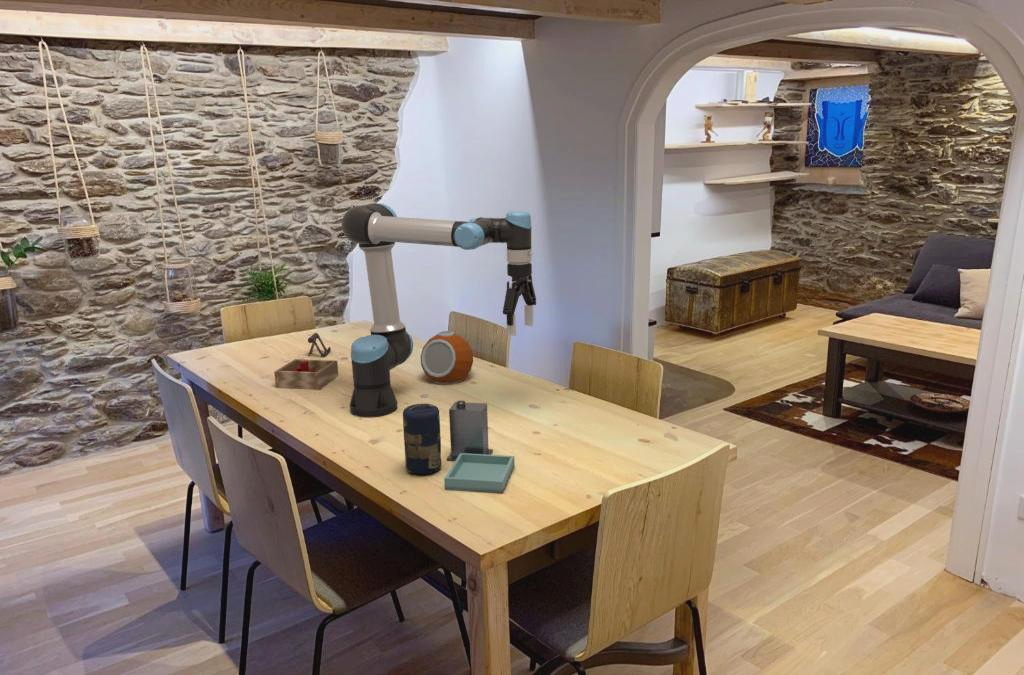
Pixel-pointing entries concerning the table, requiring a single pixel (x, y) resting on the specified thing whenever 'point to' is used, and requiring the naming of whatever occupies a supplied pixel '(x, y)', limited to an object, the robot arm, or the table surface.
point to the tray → (480, 473)
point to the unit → (468, 429)
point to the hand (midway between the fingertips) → (520, 330)
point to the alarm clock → (446, 358)
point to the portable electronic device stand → (313, 341)
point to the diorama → (303, 367)
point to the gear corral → (306, 374)
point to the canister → (422, 438)
